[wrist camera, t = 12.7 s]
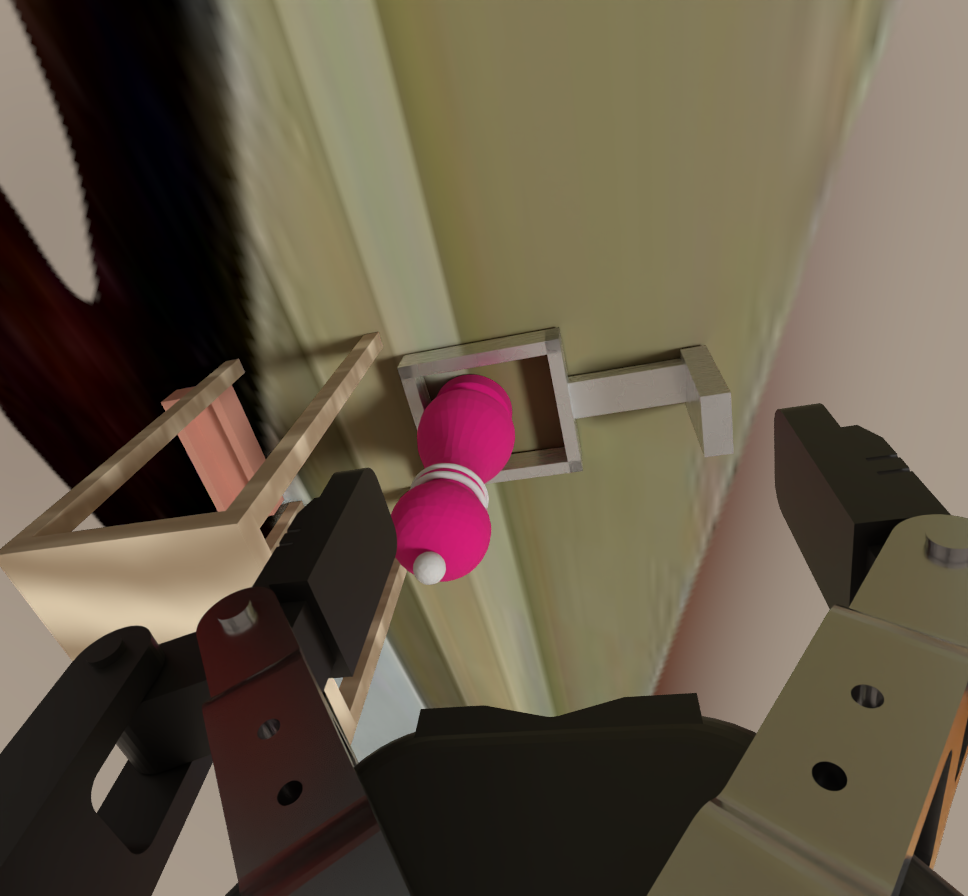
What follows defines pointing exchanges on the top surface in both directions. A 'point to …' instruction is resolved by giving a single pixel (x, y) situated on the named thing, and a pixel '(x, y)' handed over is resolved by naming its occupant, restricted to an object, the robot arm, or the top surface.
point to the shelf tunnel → (183, 540)
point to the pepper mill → (454, 480)
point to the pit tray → (221, 447)
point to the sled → (587, 394)
